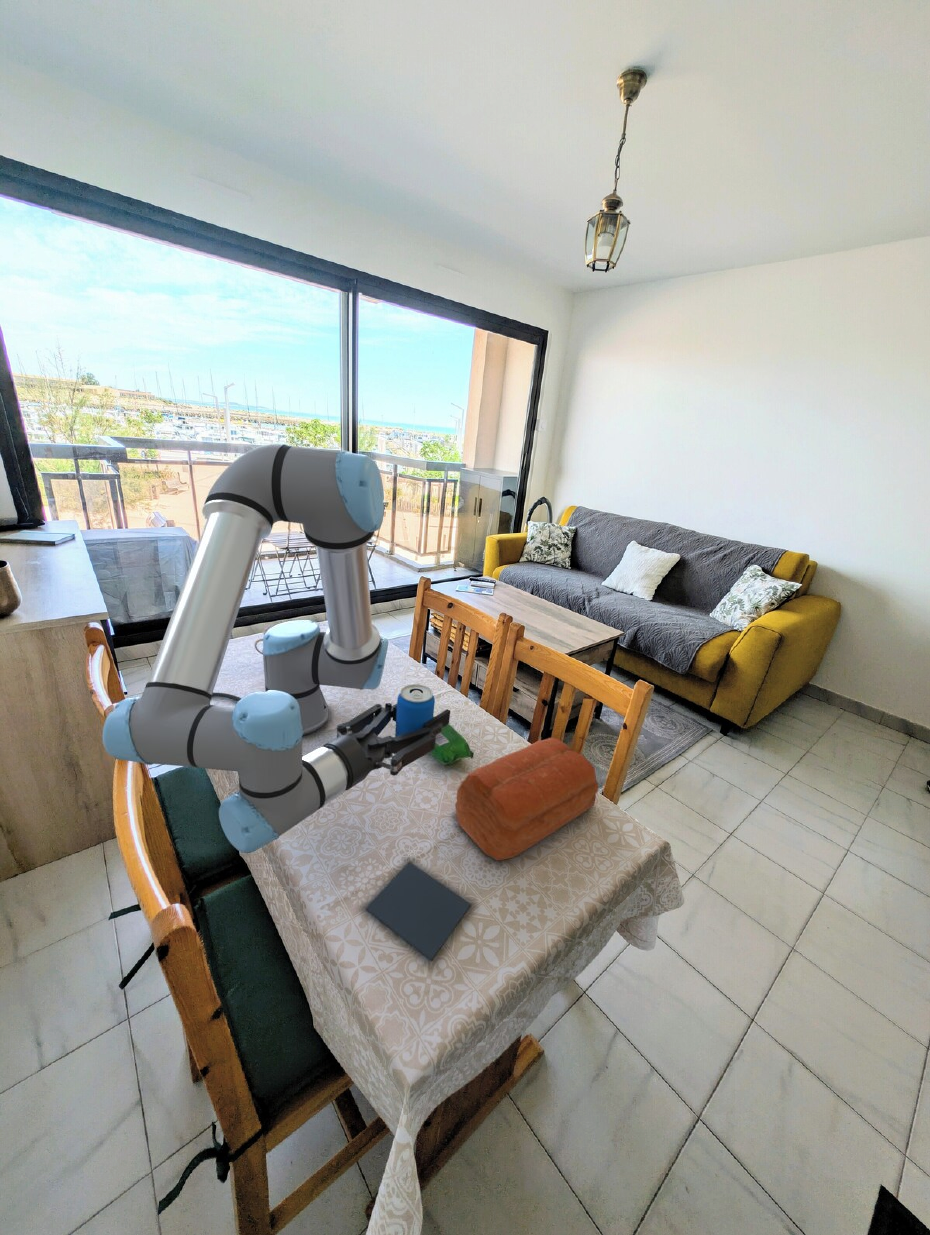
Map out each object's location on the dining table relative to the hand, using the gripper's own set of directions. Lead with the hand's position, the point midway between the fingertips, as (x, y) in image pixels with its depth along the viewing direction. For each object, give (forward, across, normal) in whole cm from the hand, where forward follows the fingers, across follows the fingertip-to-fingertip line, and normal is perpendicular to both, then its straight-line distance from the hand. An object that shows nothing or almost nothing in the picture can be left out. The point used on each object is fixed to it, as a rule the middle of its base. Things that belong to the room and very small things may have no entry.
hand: (432, 708), depth 87 cm
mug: (+8, -61, -18) cm, 64 cm away
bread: (+8, +18, -18) cm, 27 cm away
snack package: (+11, -5, -18) cm, 22 cm away
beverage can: (-5, 0, -7) cm, 8 cm away
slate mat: (-20, +16, -18) cm, 31 cm away
